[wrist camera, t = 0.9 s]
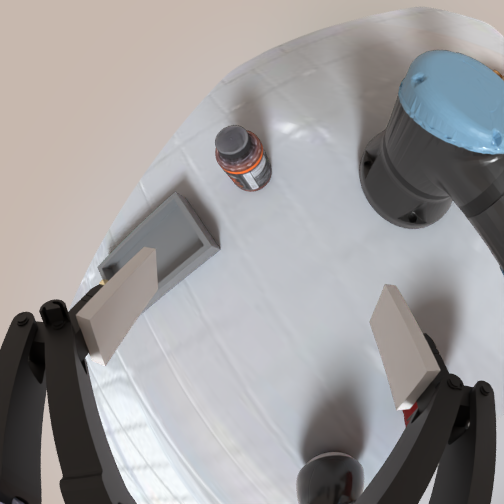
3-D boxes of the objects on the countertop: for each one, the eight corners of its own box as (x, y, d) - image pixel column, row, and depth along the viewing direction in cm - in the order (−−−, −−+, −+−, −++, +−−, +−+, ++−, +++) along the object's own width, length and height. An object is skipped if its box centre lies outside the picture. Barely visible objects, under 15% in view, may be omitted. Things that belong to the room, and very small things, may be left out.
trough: (185, 198, 42) (171, 188, 37) (220, 249, 40) (208, 245, 35) (110, 268, 44) (92, 266, 40) (135, 318, 42) (117, 321, 37)
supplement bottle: (226, 175, 41) (196, 141, 30) (254, 150, 40) (233, 109, 29) (251, 201, 39) (227, 171, 28) (280, 174, 39) (267, 135, 28)
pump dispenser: (374, 454, 30) (390, 515, 16) (333, 491, 30) (332, 551, 16) (326, 432, 33) (325, 496, 18) (286, 471, 33) (270, 533, 18)
